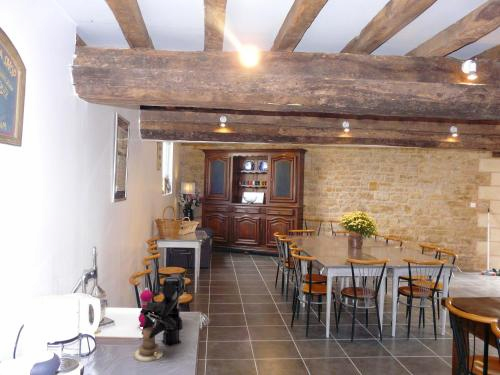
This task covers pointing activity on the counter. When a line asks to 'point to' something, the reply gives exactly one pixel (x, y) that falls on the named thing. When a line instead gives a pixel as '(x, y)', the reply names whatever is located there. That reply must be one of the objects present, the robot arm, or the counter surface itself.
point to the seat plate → (148, 356)
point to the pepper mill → (144, 304)
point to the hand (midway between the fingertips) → (146, 336)
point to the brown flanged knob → (148, 343)
